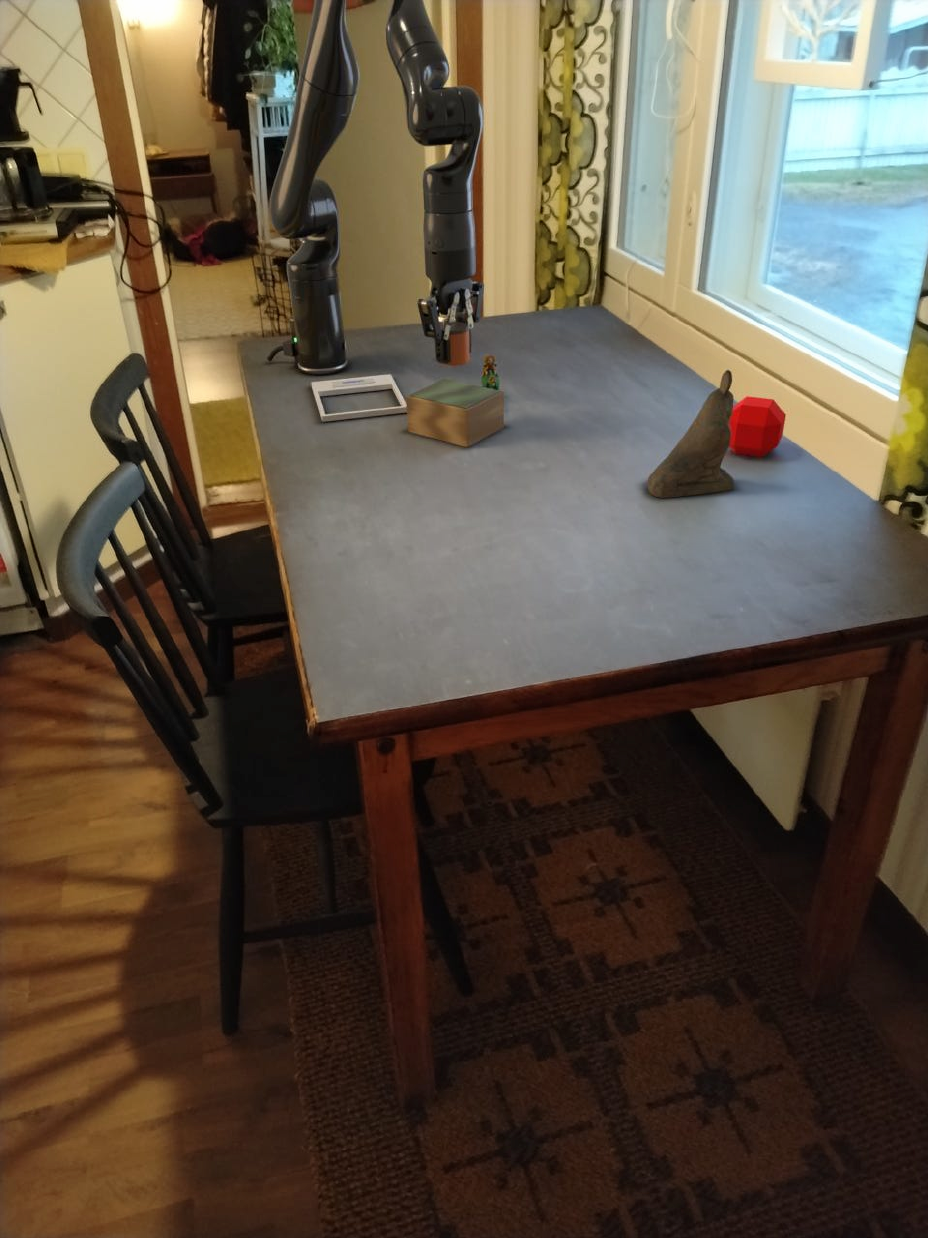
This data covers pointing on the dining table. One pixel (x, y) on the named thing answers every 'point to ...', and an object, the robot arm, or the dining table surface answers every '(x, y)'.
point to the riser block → (455, 412)
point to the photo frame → (352, 387)
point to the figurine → (490, 374)
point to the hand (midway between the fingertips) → (454, 357)
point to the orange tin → (458, 344)
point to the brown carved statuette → (699, 451)
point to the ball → (756, 426)
